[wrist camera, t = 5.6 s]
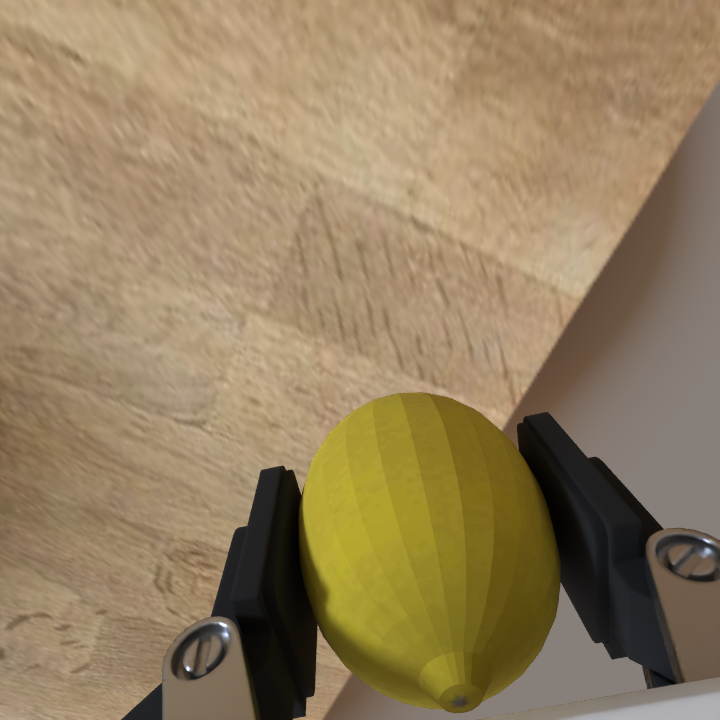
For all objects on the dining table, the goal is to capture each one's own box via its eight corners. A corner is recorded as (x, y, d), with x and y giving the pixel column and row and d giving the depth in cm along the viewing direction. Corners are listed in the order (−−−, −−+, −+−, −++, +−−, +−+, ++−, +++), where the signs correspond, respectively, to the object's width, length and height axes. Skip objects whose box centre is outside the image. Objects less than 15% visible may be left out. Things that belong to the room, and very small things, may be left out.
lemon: (360, 315, 13) (391, 506, 6) (523, 396, 14) (721, 639, 7) (278, 467, 15) (221, 763, 8) (429, 528, 16) (509, 834, 9)
